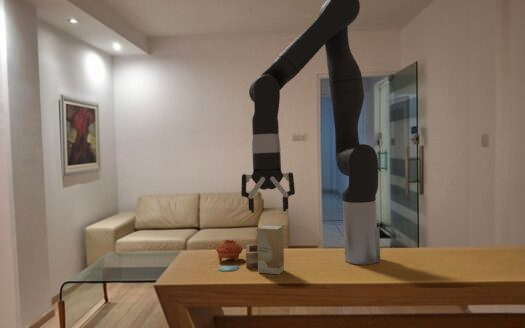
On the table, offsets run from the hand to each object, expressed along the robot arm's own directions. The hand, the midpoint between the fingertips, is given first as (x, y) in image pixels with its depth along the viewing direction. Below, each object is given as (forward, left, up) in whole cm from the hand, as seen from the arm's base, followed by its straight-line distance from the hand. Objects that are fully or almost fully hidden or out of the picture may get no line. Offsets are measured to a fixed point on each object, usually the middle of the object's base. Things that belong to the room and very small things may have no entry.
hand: (268, 211), depth 103 cm
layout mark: (+12, -5, -16) cm, 21 cm away
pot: (+12, -14, -17) cm, 25 cm away
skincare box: (0, 0, -16) cm, 16 cm away
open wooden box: (+3, -10, -16) cm, 19 cm away
